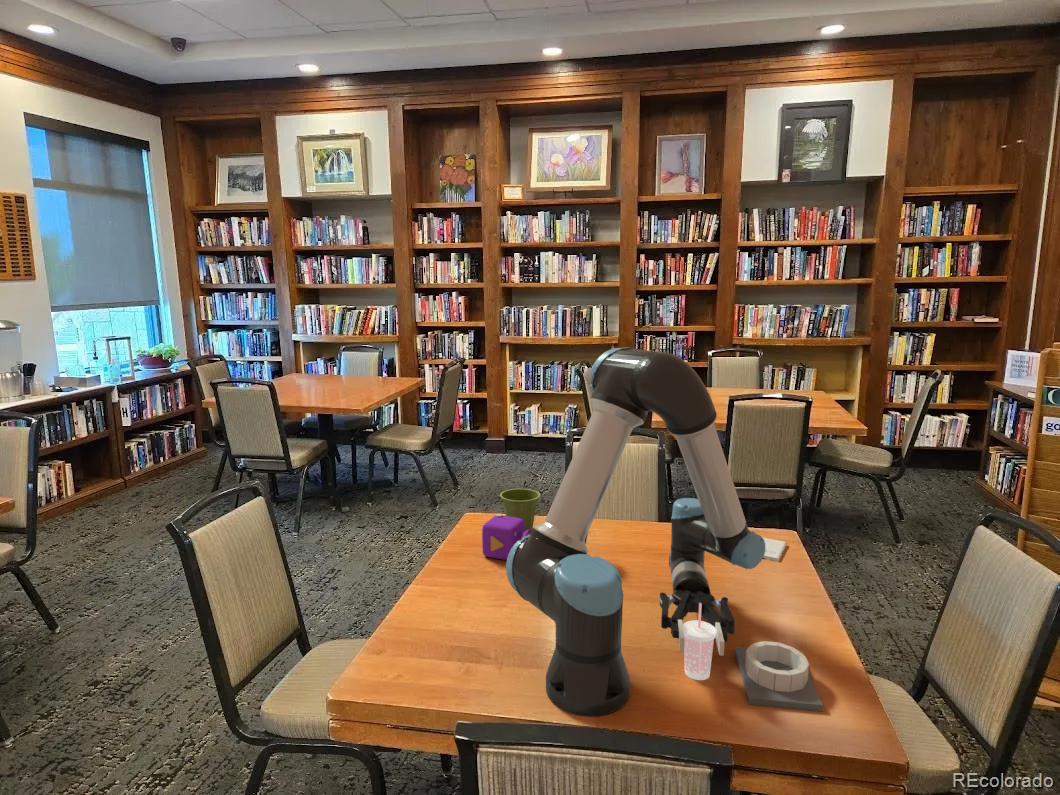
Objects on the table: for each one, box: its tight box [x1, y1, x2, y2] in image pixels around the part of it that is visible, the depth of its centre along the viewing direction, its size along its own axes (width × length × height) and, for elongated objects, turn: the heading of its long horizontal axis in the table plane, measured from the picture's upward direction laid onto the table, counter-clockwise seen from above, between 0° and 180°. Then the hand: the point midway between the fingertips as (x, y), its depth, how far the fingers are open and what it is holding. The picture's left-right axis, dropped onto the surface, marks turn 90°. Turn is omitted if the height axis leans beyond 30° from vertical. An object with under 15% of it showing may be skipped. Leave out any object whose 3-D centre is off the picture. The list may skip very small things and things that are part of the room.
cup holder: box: [734, 640, 824, 712], centre depth 116 cm, size 12×16×4 cm
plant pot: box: [499, 488, 541, 531], centre depth 187 cm, size 12×12×11 cm
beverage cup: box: [683, 603, 716, 681], centre depth 118 cm, size 6×6×14 cm
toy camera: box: [481, 513, 532, 561], centre depth 171 cm, size 11×14×10 cm
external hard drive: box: [761, 536, 788, 562], centre depth 173 cm, size 2×8×12 cm
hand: (702, 646), depth 112 cm, fingers closed on beverage cup, 6 cm apart
